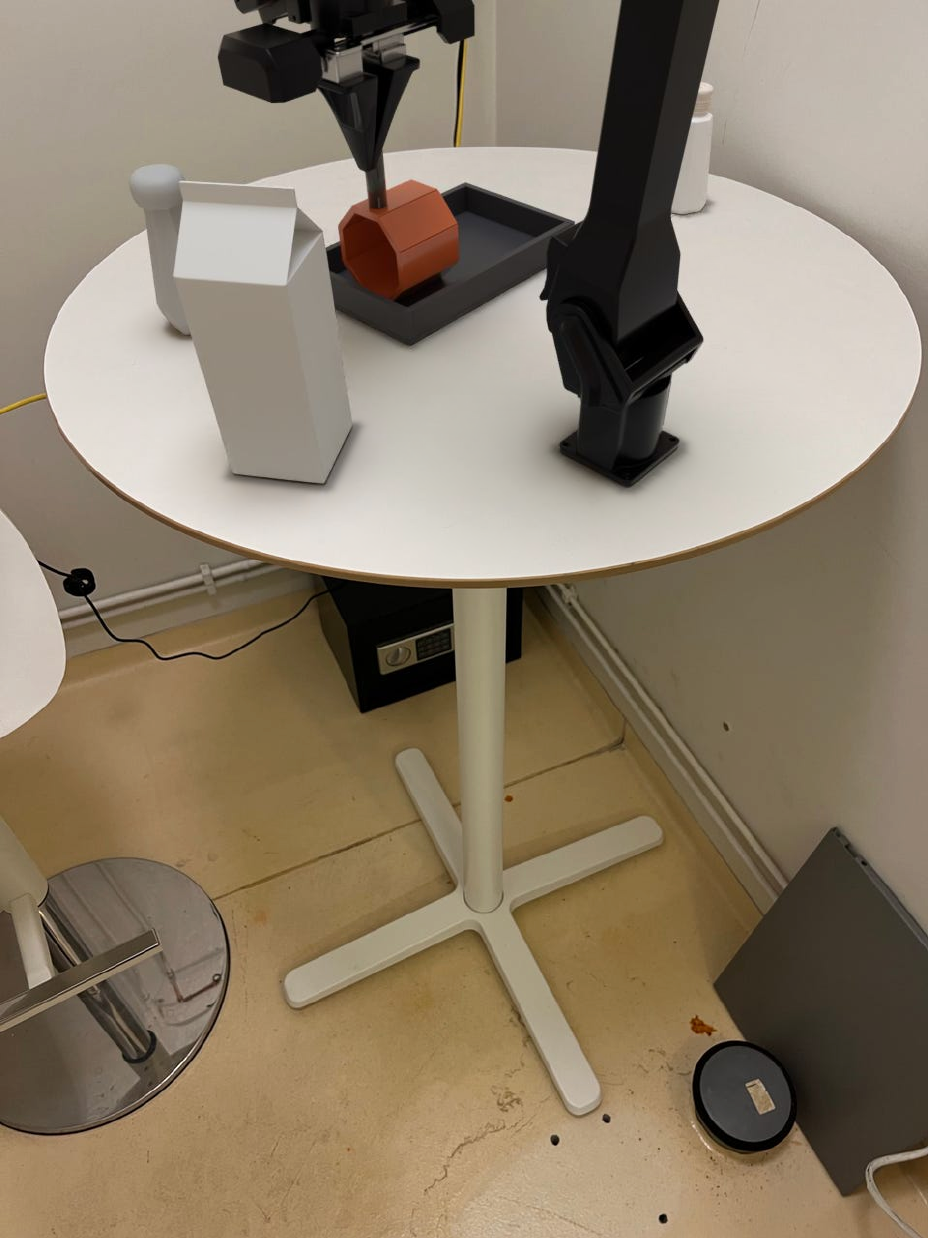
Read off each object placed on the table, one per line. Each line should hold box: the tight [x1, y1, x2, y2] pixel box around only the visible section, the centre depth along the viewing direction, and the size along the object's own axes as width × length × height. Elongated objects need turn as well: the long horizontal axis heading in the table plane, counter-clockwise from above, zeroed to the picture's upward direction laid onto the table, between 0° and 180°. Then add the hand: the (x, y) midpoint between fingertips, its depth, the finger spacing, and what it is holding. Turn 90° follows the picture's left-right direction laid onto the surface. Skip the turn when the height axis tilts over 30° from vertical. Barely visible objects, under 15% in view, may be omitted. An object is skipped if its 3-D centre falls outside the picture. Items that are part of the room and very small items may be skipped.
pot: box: [337, 148, 459, 302], centre depth 73 cm, size 13×8×7 cm
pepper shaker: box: [671, 81, 714, 215], centre depth 85 cm, size 5×5×11 cm
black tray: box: [325, 181, 576, 346], centre depth 79 cm, size 22×14×3 cm, turn 137°
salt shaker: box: [128, 163, 191, 336], centre depth 71 cm, size 6×6×13 cm
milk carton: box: [173, 180, 353, 484], centre depth 56 cm, size 7×7×19 cm
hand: (366, 169), depth 64 cm, fingers closed
